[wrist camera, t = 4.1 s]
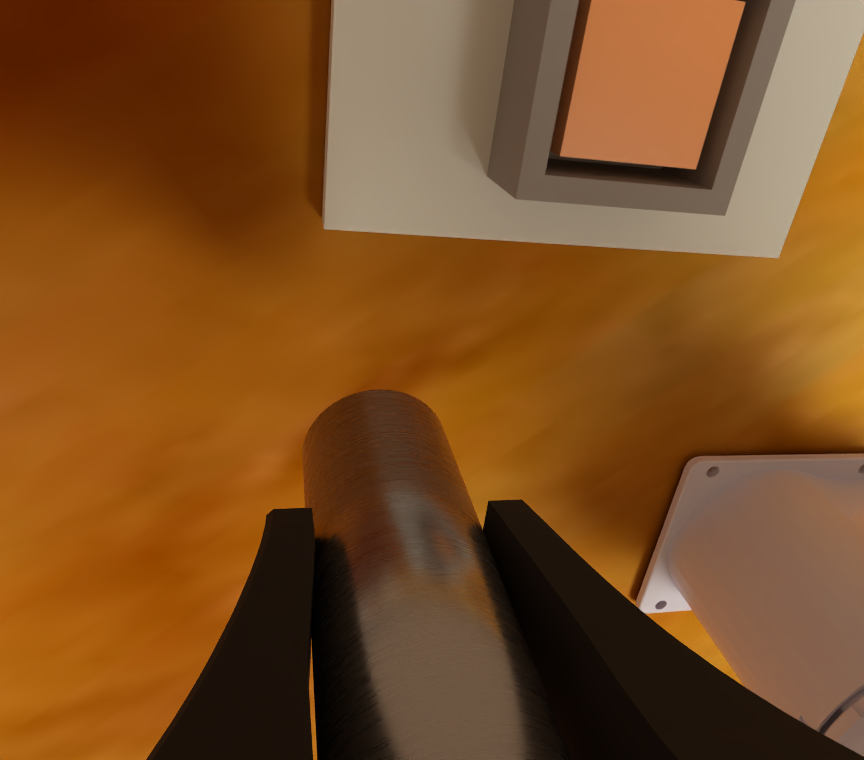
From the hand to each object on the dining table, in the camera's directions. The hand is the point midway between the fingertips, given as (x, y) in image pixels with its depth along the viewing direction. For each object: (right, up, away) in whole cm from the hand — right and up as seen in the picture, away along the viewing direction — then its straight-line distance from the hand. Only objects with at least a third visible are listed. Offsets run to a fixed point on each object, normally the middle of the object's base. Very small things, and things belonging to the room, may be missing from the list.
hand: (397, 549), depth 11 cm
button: (+5, +10, +5) cm, 12 cm away
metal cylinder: (-1, +1, +3) cm, 3 cm away
